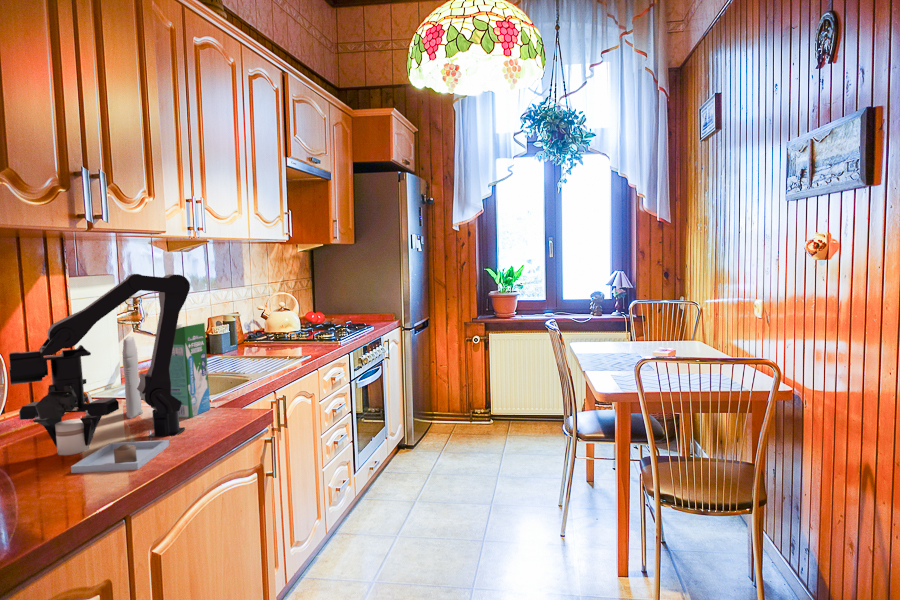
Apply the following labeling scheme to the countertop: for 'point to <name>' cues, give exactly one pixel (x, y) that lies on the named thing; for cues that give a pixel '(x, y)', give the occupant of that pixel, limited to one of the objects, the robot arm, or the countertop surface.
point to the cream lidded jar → (70, 437)
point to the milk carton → (190, 370)
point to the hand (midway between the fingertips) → (73, 446)
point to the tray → (106, 462)
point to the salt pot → (125, 454)
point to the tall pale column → (131, 378)
